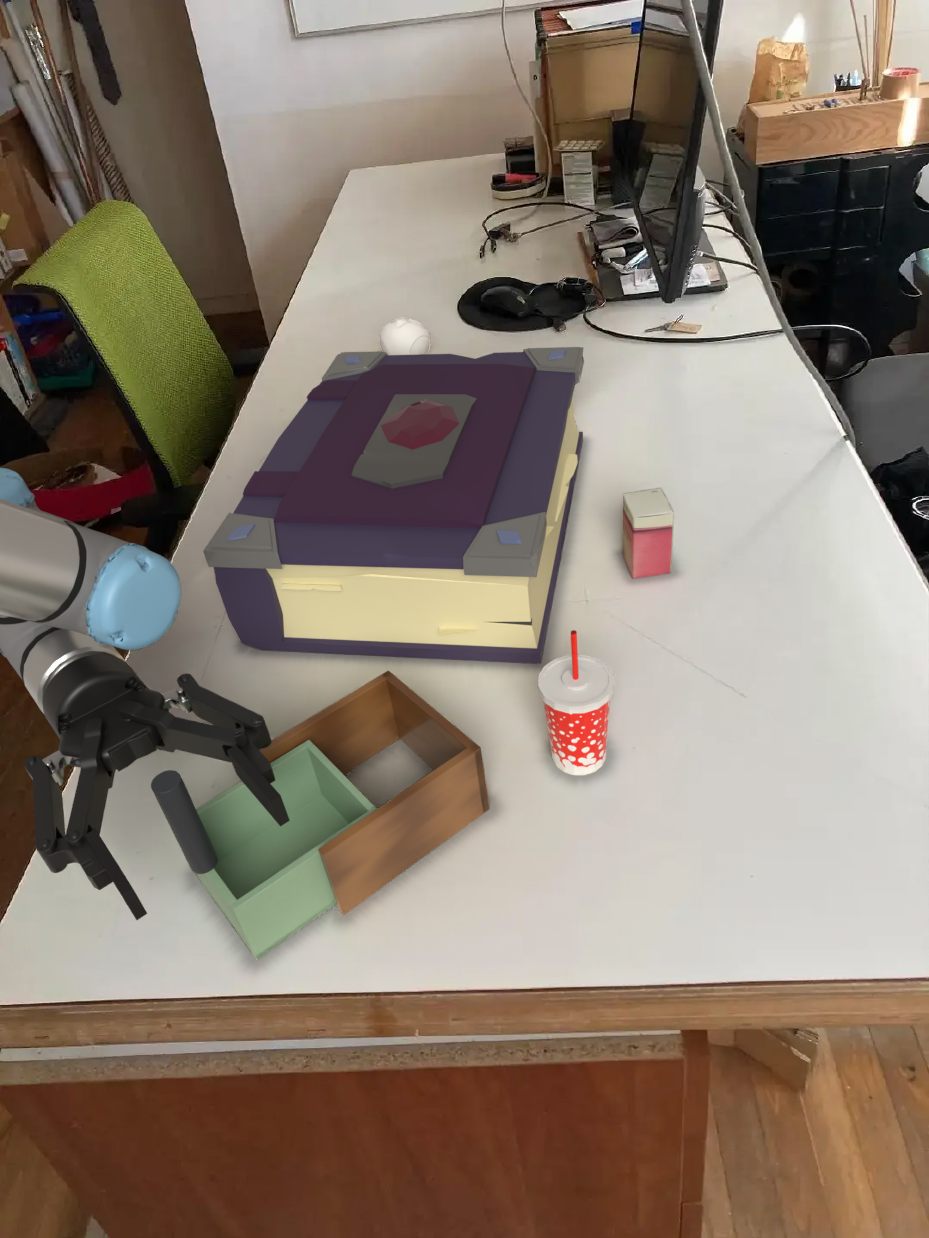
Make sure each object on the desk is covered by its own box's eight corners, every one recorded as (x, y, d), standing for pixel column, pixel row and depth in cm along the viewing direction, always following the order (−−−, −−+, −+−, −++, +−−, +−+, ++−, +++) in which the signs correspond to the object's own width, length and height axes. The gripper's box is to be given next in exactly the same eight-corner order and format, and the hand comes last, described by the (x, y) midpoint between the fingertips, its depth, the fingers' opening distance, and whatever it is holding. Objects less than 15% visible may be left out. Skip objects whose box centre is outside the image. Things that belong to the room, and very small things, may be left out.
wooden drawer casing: (343, 915, 70) (323, 855, 66) (262, 819, 78) (239, 759, 74) (490, 809, 77) (481, 747, 72) (401, 730, 85) (388, 669, 80)
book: (225, 651, 96) (184, 540, 87) (347, 437, 130) (327, 341, 121) (545, 667, 89) (536, 547, 80) (587, 436, 123) (584, 334, 114)
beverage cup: (608, 787, 77) (607, 663, 68) (536, 777, 79) (525, 654, 70) (619, 733, 81) (619, 610, 73) (551, 725, 83) (542, 603, 74)
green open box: (248, 966, 68) (185, 835, 58) (188, 879, 74) (121, 748, 65) (393, 862, 73) (357, 727, 64) (325, 790, 80) (283, 657, 70)
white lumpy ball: (438, 354, 148) (432, 306, 143) (426, 375, 143) (419, 326, 138) (391, 354, 150) (383, 307, 145) (377, 375, 144) (368, 327, 140)
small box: (621, 553, 102) (621, 491, 97) (659, 547, 102) (661, 485, 97) (632, 580, 98) (632, 518, 93) (672, 574, 98) (675, 511, 93)
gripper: (223, 658, 83) (361, 798, 69) (-31, 797, 73) (68, 994, 59) (199, 592, 78) (342, 728, 64) (-76, 731, 68) (19, 928, 54)
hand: (210, 856), depth 61 cm, fingers open, 10 cm apart
